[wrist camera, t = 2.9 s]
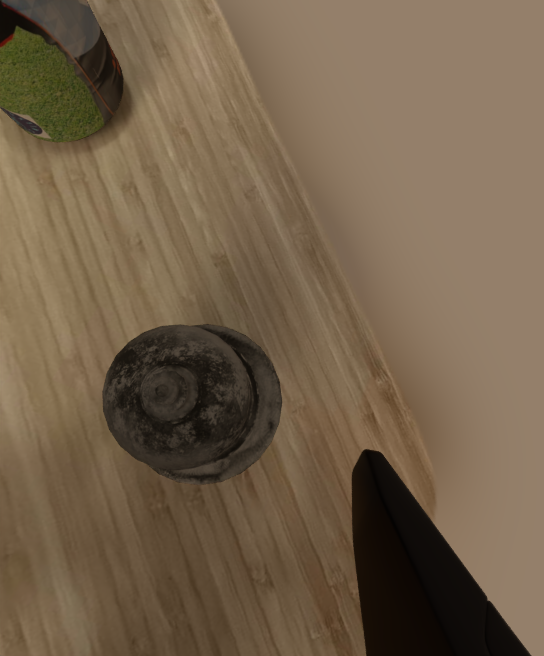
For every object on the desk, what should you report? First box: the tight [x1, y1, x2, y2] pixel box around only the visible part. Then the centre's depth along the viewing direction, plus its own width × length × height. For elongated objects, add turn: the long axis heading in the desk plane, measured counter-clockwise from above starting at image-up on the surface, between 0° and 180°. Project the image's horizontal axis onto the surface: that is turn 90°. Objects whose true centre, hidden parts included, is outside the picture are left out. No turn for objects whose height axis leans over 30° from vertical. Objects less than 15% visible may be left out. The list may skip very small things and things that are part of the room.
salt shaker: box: [103, 324, 282, 485], centre depth 11 cm, size 6×6×12 cm
